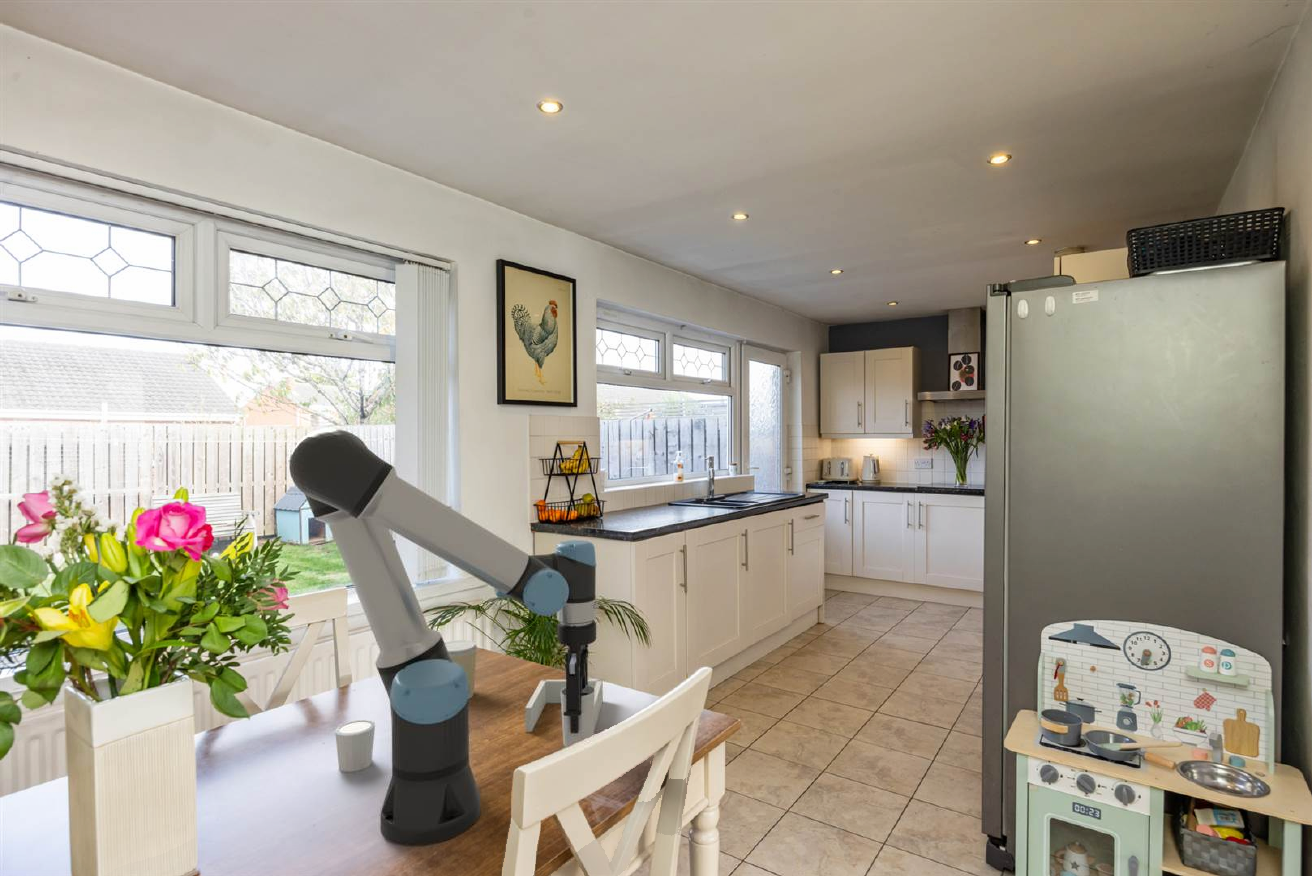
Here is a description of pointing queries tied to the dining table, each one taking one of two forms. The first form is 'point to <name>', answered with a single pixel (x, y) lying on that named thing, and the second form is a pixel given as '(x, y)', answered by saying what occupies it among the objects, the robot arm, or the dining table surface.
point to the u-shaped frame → (557, 699)
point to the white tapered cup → (355, 745)
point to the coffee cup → (464, 658)
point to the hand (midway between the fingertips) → (577, 740)
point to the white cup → (586, 709)
